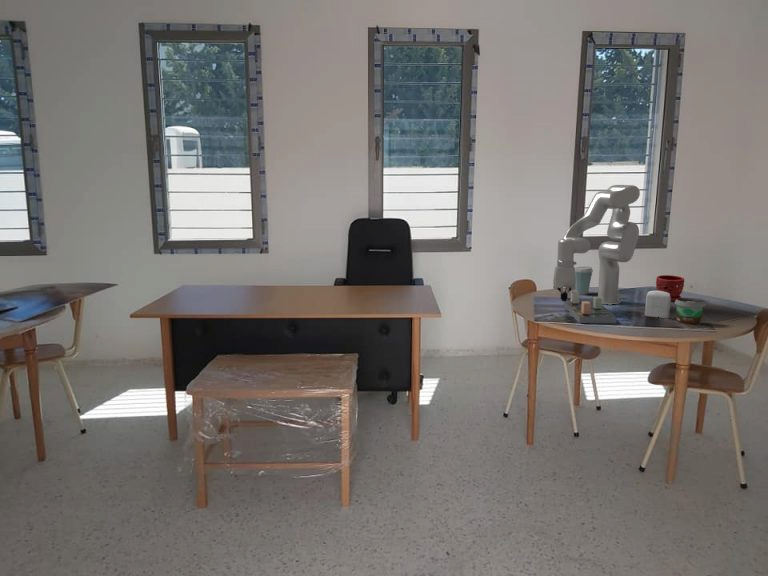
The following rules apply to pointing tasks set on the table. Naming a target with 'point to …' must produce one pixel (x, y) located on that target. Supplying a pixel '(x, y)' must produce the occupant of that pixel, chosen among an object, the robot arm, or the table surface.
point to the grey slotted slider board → (595, 314)
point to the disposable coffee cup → (583, 279)
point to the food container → (689, 311)
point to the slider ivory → (574, 297)
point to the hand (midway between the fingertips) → (563, 300)
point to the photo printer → (658, 304)
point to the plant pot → (670, 285)
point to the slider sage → (597, 302)
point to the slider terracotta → (585, 307)
